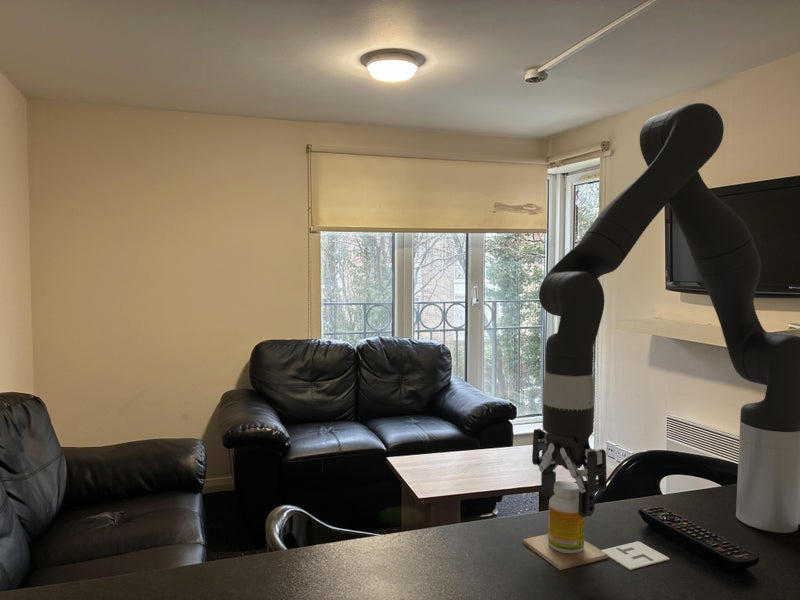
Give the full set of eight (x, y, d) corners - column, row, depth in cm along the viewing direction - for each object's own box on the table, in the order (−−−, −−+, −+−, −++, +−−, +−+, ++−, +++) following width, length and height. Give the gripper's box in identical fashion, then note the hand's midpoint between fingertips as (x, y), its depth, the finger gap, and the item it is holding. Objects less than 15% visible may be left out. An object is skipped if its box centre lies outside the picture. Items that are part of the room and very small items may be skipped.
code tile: (638, 542, 93) (638, 541, 93) (669, 559, 88) (669, 558, 88) (600, 551, 90) (600, 550, 90) (630, 570, 84) (630, 568, 84)
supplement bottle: (585, 556, 87) (587, 492, 86) (548, 552, 88) (550, 489, 88) (581, 540, 92) (583, 480, 92) (547, 536, 93) (548, 477, 93)
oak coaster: (567, 533, 96) (567, 529, 96) (607, 558, 88) (607, 554, 88) (522, 543, 92) (522, 539, 92) (559, 570, 84) (560, 566, 84)
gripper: (621, 409, 84) (619, 518, 85) (557, 390, 97) (555, 485, 98) (581, 414, 81) (579, 528, 82) (520, 394, 94) (518, 492, 95)
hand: (566, 504), depth 90 cm, fingers open, 8 cm apart
